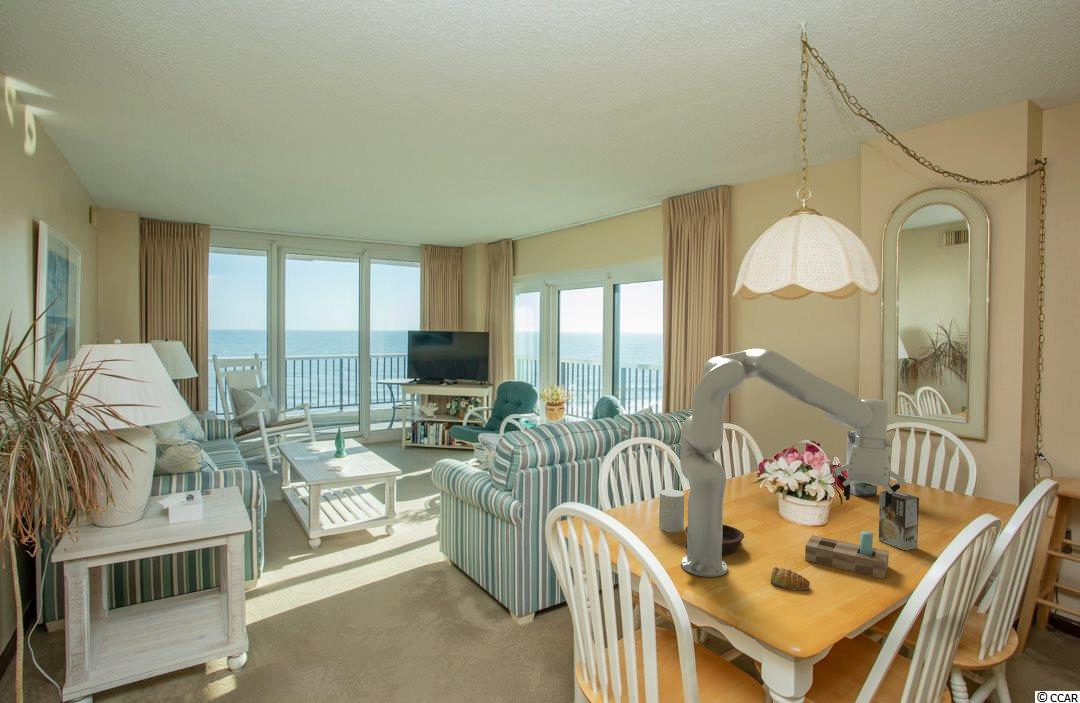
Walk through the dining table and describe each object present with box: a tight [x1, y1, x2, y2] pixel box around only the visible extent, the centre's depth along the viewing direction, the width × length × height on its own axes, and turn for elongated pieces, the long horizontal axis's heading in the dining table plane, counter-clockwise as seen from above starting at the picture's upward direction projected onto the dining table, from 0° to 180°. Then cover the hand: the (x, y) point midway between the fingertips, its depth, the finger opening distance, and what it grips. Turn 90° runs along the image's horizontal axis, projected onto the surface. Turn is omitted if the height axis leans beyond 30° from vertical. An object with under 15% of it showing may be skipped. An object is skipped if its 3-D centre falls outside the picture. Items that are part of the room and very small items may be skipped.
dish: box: [684, 524, 745, 556], centre depth 174 cm, size 18×22×5 cm
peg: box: [859, 530, 874, 556], centre depth 159 cm, size 3×3×10 cm
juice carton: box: [845, 430, 879, 497], centre depth 229 cm, size 9×10×27 cm
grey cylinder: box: [658, 488, 685, 533], centre depth 189 cm, size 8×8×12 cm
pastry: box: [769, 566, 811, 591], centre depth 148 cm, size 9×7×4 cm
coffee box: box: [878, 490, 920, 551], centre depth 176 cm, size 9×6×16 cm
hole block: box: [804, 534, 889, 579], centre depth 162 cm, size 10×20×4 cm, turn 54°
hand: (867, 502), depth 158 cm, fingers open, 9 cm apart
